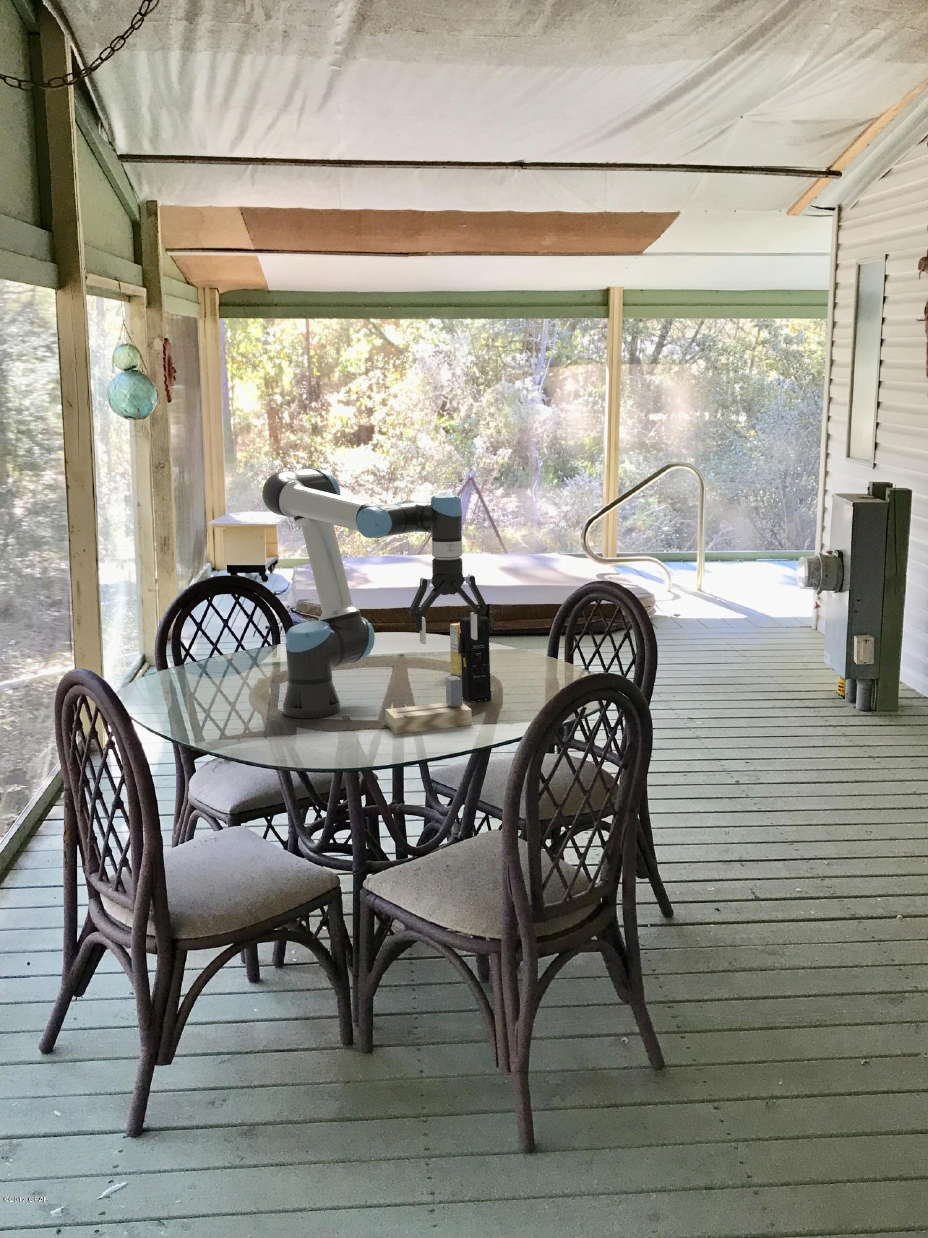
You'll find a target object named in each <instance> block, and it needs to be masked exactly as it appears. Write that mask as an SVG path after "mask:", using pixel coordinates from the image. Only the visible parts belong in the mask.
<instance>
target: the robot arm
mask: <svg viewBox="0 0 928 1238" xmlns="http://www.w3.org/2000/svg"><path fill="white" fill-rule="evenodd" d="M261 494H262V501H263V503H264V505H265V507H266V508H267V509H268V510H269V511H270V512H272V513H274V514H276V515H279V516H283V517H286V518H293V521H294V523H295V524H297V526H299V527H300V528H301V530H302V534H303V539H304V543H305V545H306V547H305V548H306V550H307V555H308V558H309V559H308V560H309V563H310V566H311V567H310V568H311V571H312V575H313V579H314V583H315V588H316V592H317V596H318V600H319V603H320V604H319V605H320V608H321V615H320V616H319V617H318V620H312V621H308V622H307V621H305V622H301V623H298V624H295V625H293V626H291V627H290V628H288V630H287V632H286V633H285V634H286V635H285V637H286V641H285V650H286V662H287V664H286V665H287V681H288V682H287V683H288V684H287V688H286V692H285V695H284V696H285V697H284V699H283V703H282V712H283V714H284V715H285V716H287V717H290V718H296V719H317V718H324V717H329V716H332V715H336V714H337V713H339V712H340V711H341V700H340V698H339V696H338V693H337V691H336V687H335V685H334V682H333V681H334V680H333V669H332V668H337V667H340V666H344V665H347V664H353V663H357V662H359V661H361V660H364V659H365V658H367V657H368V656H369V655H370V654H371V652H372V650H373V648H374V646H375V639H376V638H375V630H374V627H373V625H372V623H371V622H369V620H368V619H366V618H365V617H362V614H361V610H360V609H359V608H357V607H356V606H354V604H353V600H352V596H351V593H350V587H349V583H348V579H347V576H346V571H345V568H344V563H343V559H342V555H341V551H340V546H339V541H338V538H337V534H336V530H335V526H338V527H342V528H347V529H348V530H349V529H350V530H352V531H358V532H359V533H360V534H361V535H362V536H363V537H364V538H366V539H367V538H368V539H381V538H384V537H389V536H395V535H396V536H397V535H401V534H402V535H403V534H410V533H417V532H418V533H419V532H420V533H430V534H431V556H432V557H433V558H432V559H431V561H432V562H431V563H432V567H431V568H432V569H431V570H432V576H431V578H425V577H420V578H419V579H420V580H419V586H418V589H417V591H416V593H415V596H414V598H413V601H412V602H411V605H410V607H409V609H408V611H407V613H408V615H409V616H410V617H411V616H412V617H414V618H415V628H416V630H417V631H418V632H419V643H420V644H422V645H427V641H426V640H427V639H426V638H427V637H426V636H427V634H426V633H427V631H426V630H427V629H426V628H427V627H426V618H425V617H424V615H425V614H426V613H427V611H428V610H429V608H430V607H431V606H432V605H433V604H434V602H435V601H436V599H437V598H439V597H440V596H441V595H442V596H448V595H451V596H453V595H455V594H457V595H458V596H460V597H461V599H462V600H463V601H464V602H465V603H466V604H467V605H468V607H469V608H470V609H471V610H472V611H473V612H470V617H471V638H472V639H474V640H477V626H480V624H481V622H480V621H481V619H480V616H481V614H482V612H483V613H484V612H486V611H488V607H489V606H487V604H486V602H485V600H484V597H483V596H482V594H481V592H480V590H479V588H478V585H477V584H476V577H475V576H474V575H472V574H467V575H463V572H464V571H463V559H462V556H463V537H462V533H463V532H462V524H463V523H462V522H463V511H462V510H463V509H462V499H461V497H460V496H459V495H457V494H435V495H433V496H432V497H431V499H430V502H426V501H425V502H424V501H414V500H402V501H398V502H396V503H394V504H386V505H385V504H378V503H373V502H369V501H366V500H360V499H357V498H353V497H348V496H344V495H341V488H340V484H339V482H338V480H337V479H336V478H335V476H334V475H333V474H332V473H330V472H329V471H328V470H326V469H323V468H307V469H306V468H305V469H297V470H296V469H294V470H283V471H281V470H280V471H278V472H275V473H273V474H272V475H271V476H269V477H268V478H267V480H266V481H265V483H264V484H263V487H262V492H261ZM464 583H466V584H467V585H468V587H469V589H470V590H471V593H472V595H473V597H474V598H475V601H476V602H477V604H476V603H475V602H474V601H473V600H472V598H471V597H470V596H469V595H468V594H467V593H466V591H465V590H464V589H463V588H462V586H463V584H464ZM430 585H432V586H433V588H432V589H431V591H430V593H429V595H428V596H427V597H426V598H425V600H424V601H423V598H424V596H425V595H426V592H427V588H429V587H430ZM422 601H423V603H422ZM421 603H422V604H421Z"/></svg>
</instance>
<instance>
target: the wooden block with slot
mask: <svg viewBox="0 0 928 1238" xmlns="http://www.w3.org/2000/svg"><path fill="white" fill-rule="evenodd" d="M384 710H385V712H384V713H385V725H386V727H388V728H389V729H390V730H391V731H392V732H393V733H394V734H397V735H398V734H405V733H413V732H420V731H422V732H423V731H430V730H437V729H446V728H447V729H449V728H455V727H456V728H457V727H464V726H472V725H473V724H472V723H473V722H472V721H473V719H472V717H473V716H472V713H473V712H472V709H471V708H470V707H469V706H467V705H466V704H465V703H464V702H462V706H459V707H450V706H449V705H447V704H446V702H439V703H438V702H437V703H429V704H421V705H413V706H405V707H404V706H403V707H393V708H386V709H384Z"/></svg>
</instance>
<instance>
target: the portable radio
mask: <svg viewBox="0 0 928 1238" xmlns="http://www.w3.org/2000/svg"><path fill="white" fill-rule="evenodd" d="M480 619H481V621H480V622H481V624H480V626H477V640H474V639H472V638H471V616H469V617H459V623H460V630H461V633H460V637H459V653H460V654H461V665H462V675H461V679H462V697H463V698H462V700H464V699H465V700H464V701H466V702H468V703H472V702H471V701H476V702H479V701H478V700H483V701H486V700H485V699H490V700H492V688H491V687H492V686H491V685H492V683H491V660H490V659H491V657H490V656H491V655H490V625H489V623H490V622H489V621H490V620H489V617H487V616H484V611H483V612H482V613H481V614H480Z"/></svg>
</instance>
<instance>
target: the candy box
mask: <svg viewBox="0 0 928 1238" xmlns="http://www.w3.org/2000/svg"><path fill="white" fill-rule="evenodd" d="M460 633H461V630H460V622H454V623H449V640H450V647H449V648H450V674H451V675H453V676H458V677H460V676H462V665H461V654H460V653H459V637H460Z"/></svg>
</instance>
